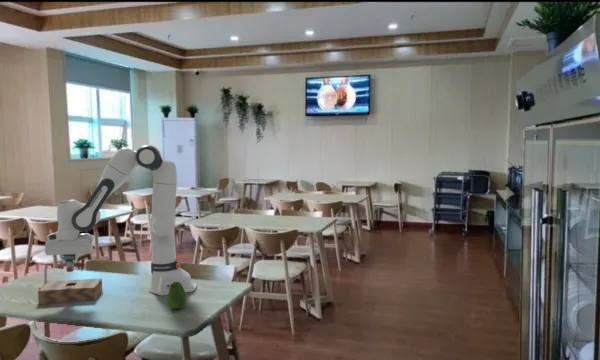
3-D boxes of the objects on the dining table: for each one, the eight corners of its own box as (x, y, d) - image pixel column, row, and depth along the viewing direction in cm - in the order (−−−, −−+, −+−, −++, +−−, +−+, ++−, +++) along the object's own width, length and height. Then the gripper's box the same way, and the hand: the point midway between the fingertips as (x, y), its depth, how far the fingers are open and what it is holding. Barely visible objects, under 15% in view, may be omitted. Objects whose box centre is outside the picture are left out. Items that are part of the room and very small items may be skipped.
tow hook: (49, 285, 234) (36, 290, 225) (49, 260, 233) (36, 264, 224) (64, 286, 233) (52, 291, 224) (64, 261, 232) (52, 265, 223)
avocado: (170, 305, 204) (169, 279, 203) (187, 305, 204) (187, 279, 203) (166, 312, 196) (165, 285, 195) (184, 311, 196) (184, 284, 195)
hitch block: (102, 290, 225) (101, 278, 224) (95, 300, 211) (94, 287, 211) (49, 293, 220) (48, 281, 220) (38, 303, 207) (37, 290, 206)
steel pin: (77, 269, 218) (76, 253, 217) (74, 272, 213) (73, 255, 212) (65, 269, 217) (65, 253, 216) (62, 272, 212) (62, 256, 211)
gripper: (94, 232, 218) (95, 260, 219) (47, 233, 214) (48, 262, 215) (90, 234, 212) (91, 264, 213) (42, 236, 208) (44, 266, 209)
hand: (69, 263), depth 214 cm, fingers closed on steel pin, 3 cm apart
